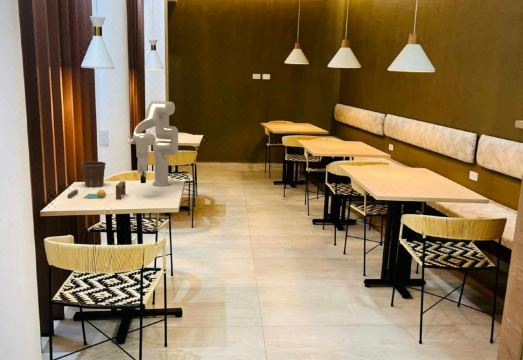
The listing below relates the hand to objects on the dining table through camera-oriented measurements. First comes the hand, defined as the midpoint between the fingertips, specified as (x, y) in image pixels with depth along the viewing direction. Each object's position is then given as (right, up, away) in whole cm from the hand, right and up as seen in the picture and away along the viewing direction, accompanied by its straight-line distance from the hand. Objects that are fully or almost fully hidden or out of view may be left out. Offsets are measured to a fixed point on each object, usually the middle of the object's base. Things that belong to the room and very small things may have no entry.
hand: (143, 182), depth 314 cm
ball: (-26, -7, -3) cm, 27 cm away
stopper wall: (-44, -8, -2) cm, 45 cm away
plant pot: (-41, -3, +29) cm, 50 cm away
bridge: (-14, -9, 0) cm, 17 cm away
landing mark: (-30, -9, -1) cm, 32 cm away
